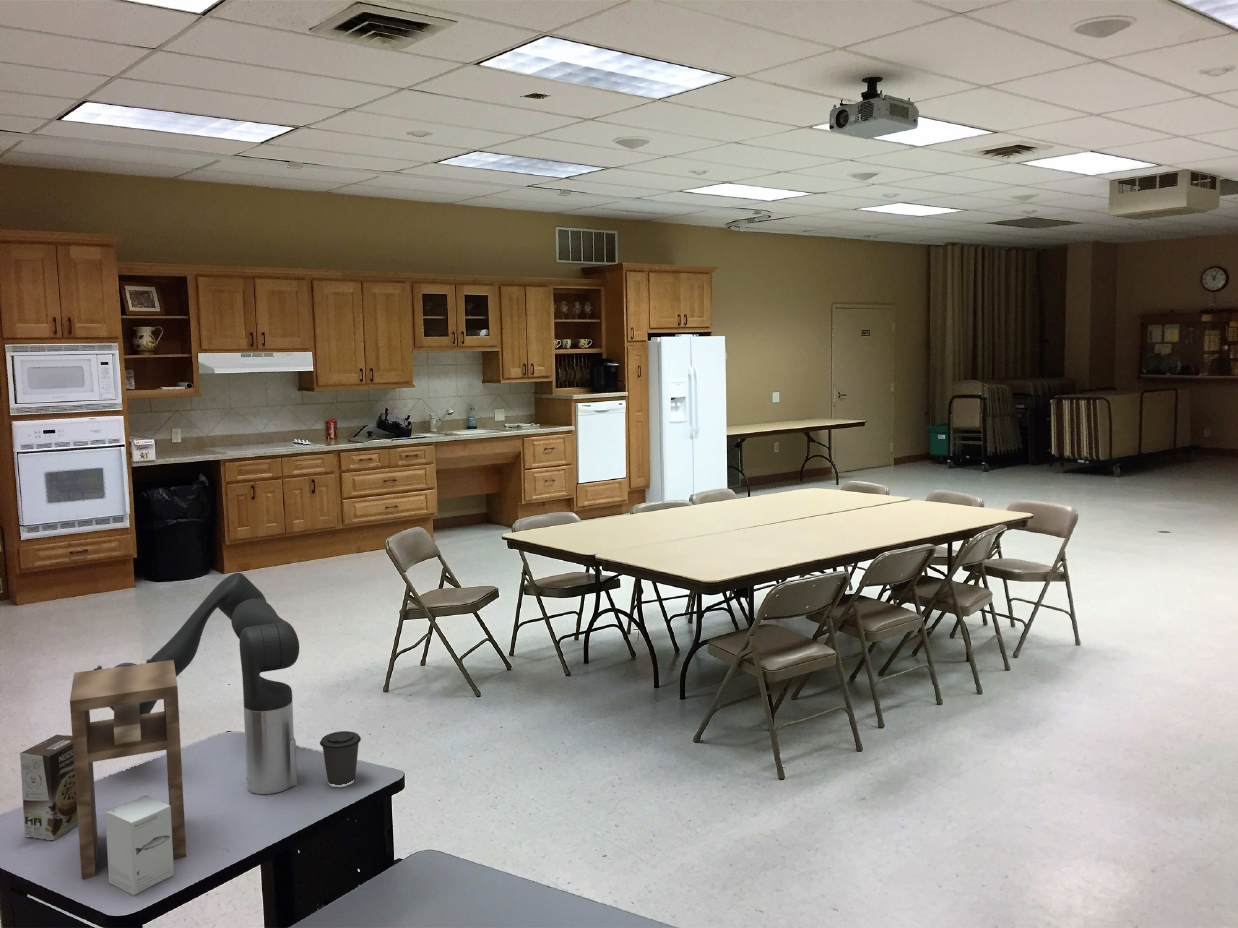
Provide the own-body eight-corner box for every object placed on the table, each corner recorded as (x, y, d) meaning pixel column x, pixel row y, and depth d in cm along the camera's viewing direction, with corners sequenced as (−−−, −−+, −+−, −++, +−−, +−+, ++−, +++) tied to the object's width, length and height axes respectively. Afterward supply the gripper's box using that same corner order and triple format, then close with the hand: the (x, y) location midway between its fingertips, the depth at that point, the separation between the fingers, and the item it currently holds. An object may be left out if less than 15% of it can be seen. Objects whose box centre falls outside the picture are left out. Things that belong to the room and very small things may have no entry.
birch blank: (139, 701, 183) (138, 686, 182) (141, 740, 165) (140, 723, 165) (115, 704, 181) (114, 689, 180) (114, 744, 163) (113, 727, 163)
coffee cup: (326, 794, 192) (324, 746, 191) (317, 778, 199) (315, 731, 198) (366, 785, 196) (365, 738, 195) (356, 769, 203) (355, 724, 202)
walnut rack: (181, 818, 182) (173, 659, 178) (186, 856, 168) (177, 685, 165) (84, 837, 174) (74, 672, 171) (81, 878, 161) (69, 700, 157)
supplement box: (133, 896, 156) (129, 823, 155) (107, 882, 160) (103, 810, 159) (175, 875, 162) (172, 804, 161) (149, 862, 166) (145, 793, 165)
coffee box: (54, 841, 173) (48, 755, 171) (23, 837, 174) (17, 752, 172) (91, 817, 182) (86, 735, 180) (62, 813, 183) (56, 732, 181)
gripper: (165, 697, 203) (165, 680, 190) (88, 708, 197) (83, 692, 183) (163, 662, 206) (163, 643, 192) (87, 672, 199) (81, 653, 186)
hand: (124, 667), depth 188 cm, fingers open, 8 cm apart
